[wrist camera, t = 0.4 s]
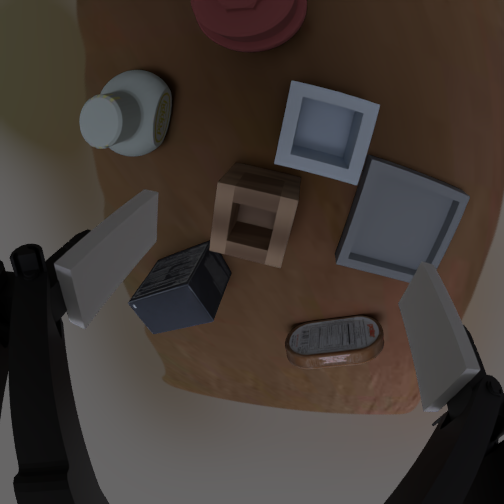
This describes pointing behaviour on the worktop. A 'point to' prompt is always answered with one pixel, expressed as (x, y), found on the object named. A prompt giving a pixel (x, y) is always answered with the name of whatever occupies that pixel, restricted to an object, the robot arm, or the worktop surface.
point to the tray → (399, 221)
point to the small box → (182, 290)
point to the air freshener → (128, 114)
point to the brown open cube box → (254, 214)
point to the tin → (334, 342)
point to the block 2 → (326, 132)
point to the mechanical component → (249, 22)
